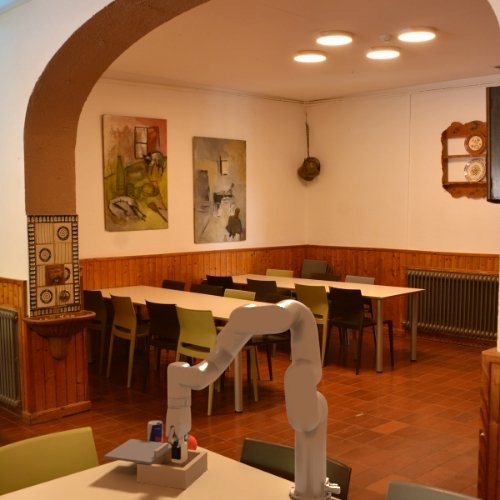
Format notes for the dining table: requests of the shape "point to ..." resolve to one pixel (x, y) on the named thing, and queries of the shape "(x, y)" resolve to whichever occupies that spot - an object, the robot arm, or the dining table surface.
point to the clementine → (192, 443)
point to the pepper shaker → (182, 451)
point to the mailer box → (173, 470)
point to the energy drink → (155, 431)
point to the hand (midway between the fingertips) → (179, 455)
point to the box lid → (139, 451)
